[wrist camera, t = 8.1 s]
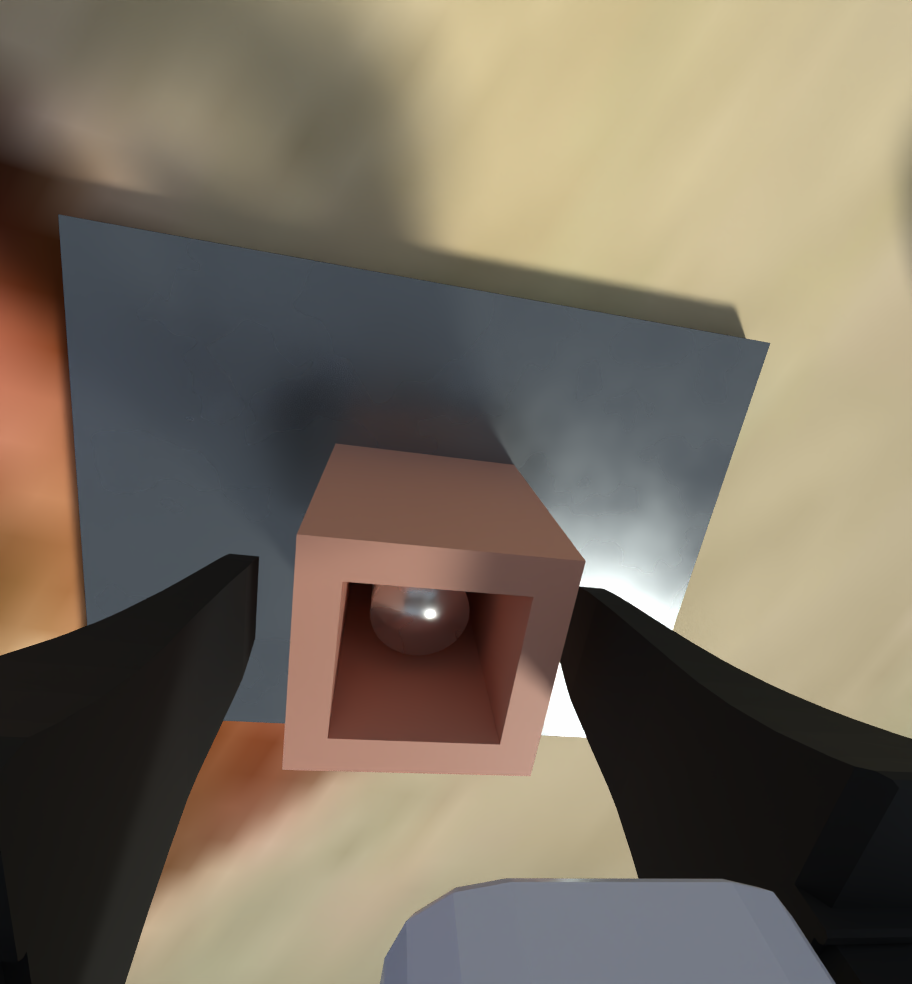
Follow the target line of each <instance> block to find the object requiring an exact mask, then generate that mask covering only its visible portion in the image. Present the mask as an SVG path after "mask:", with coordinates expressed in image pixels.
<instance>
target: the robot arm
mask: <svg viewBox="0 0 912 984" xmlns="http://www.w3.org/2000/svg"><path fill="white" fill-rule="evenodd" d="M258 571H259V556H250V555H239V554H227V555H225V556H223V557H221V558H219V559H218V560H216V561H214V562H212V563H210V564H209V565H207V566H205V567H203V568H202V569H200V570H198V571H197V572H195V573H193V574H191V575H190V576H188V577H186V578H184V579H182V580H181V581H179V582H177V583H175V584H173V585H172V586H170V587H168V588H166V589H164V590H163V591H161V592H159V593H157V594H155V595H153V596H151V597H149V598H147V599H145V600H143V601H141V602H139V603H137V604H135V605H133V606H131V607H129V608H127V609H125V610H123V611H120V612H118V613H116V614H114V615H112V616H109V617H107V618H105V619H102V620H100V621H98V622H95V623H93V624H90V625H88V626H85V627H83V628H80V629H78V630H75V631H73V632H70V633H68V634H65V635H62V636H59V637H57V638H54V639H51V640H48V641H44V642H41V643H38V644H35V645H32V646H29V647H26V648H23V649H20V650H17V651H13V652H10V653H7V654H4V655H1V656H0V984H125V982H126V979H127V976H128V973H129V969H130V966H131V963H132V960H133V957H134V954H135V951H136V948H137V945H138V942H139V939H140V935H141V932H142V929H143V926H144V923H145V920H146V917H147V914H148V911H149V908H150V905H151V902H152V899H153V896H154V893H155V890H156V887H157V884H158V881H159V879H160V876H161V873H162V870H163V867H164V864H165V861H166V858H167V855H168V852H169V849H170V846H171V844H172V841H173V838H174V835H175V832H176V830H177V827H178V824H179V821H180V818H181V816H182V813H183V810H184V807H185V804H186V801H187V799H188V796H189V794H190V791H191V789H192V787H193V784H194V782H195V780H196V777H197V775H198V773H199V771H200V769H201V766H202V764H203V762H204V760H205V758H206V756H207V754H208V752H209V749H210V747H211V745H212V743H213V741H214V739H215V737H216V735H217V733H218V730H219V728H220V726H221V724H222V722H223V720H224V718H225V716H226V714H227V711H228V709H229V707H230V705H231V703H232V701H233V699H234V696H235V694H236V692H237V690H238V688H239V686H240V683H241V681H242V679H243V676H244V673H245V670H246V667H247V664H248V661H249V657H250V654H251V651H252V647H253V644H254V641H255V634H256V613H257V592H258ZM560 665H561V668H562V672H563V676H564V680H565V684H566V687H567V691H568V694H569V697H570V700H571V703H572V705H573V707H574V710H575V712H576V714H577V717H578V719H579V722H580V724H581V726H582V729H583V731H584V733H585V735H586V738H587V740H588V742H589V744H590V747H591V749H592V751H593V753H594V756H595V758H596V760H597V763H598V765H599V767H600V769H601V772H602V774H603V776H604V778H605V781H606V783H607V785H608V788H609V790H610V793H611V795H612V798H613V800H614V803H615V806H616V808H617V811H618V814H619V817H620V820H621V823H622V826H623V830H624V833H625V836H626V839H627V842H628V845H629V848H630V851H631V854H632V858H633V861H634V864H635V868H636V871H637V875H638V878H639V879H553V878H506V879H500V880H495V881H489V882H484V883H478V884H473V885H468V886H462V887H457V888H454V889H453V890H451V891H449V892H448V893H446V894H445V895H443V896H441V897H440V898H438V899H436V900H435V901H433V902H431V903H430V904H428V905H427V906H425V907H423V908H422V909H420V910H418V911H417V912H415V913H414V914H413V915H412V916H411V917H410V918H409V919H408V920H407V921H406V922H405V924H404V926H403V928H402V929H401V931H400V933H399V934H398V936H397V938H396V940H395V941H394V943H393V945H392V946H391V948H390V950H389V952H388V953H387V955H386V957H385V959H384V965H383V970H382V976H381V981H380V984H912V739H911V738H907V737H904V736H901V735H898V734H895V733H892V732H889V731H886V730H883V729H880V728H877V727H875V726H872V725H869V724H866V723H863V722H860V721H857V720H854V719H852V718H849V717H846V716H844V715H841V714H839V713H836V712H833V711H831V710H828V709H826V708H823V707H821V706H818V705H816V704H814V703H811V702H809V701H806V700H804V699H802V698H799V697H797V696H795V695H792V694H790V693H788V692H785V691H783V690H781V689H779V688H777V687H774V686H772V685H770V684H768V683H766V682H764V681H762V680H760V679H758V678H756V677H754V676H752V675H750V674H748V673H746V672H744V671H742V670H740V669H738V668H736V667H734V666H732V665H730V664H729V663H727V662H725V661H723V660H721V659H719V658H718V657H716V656H714V655H713V654H711V653H709V652H707V651H706V650H704V649H702V648H700V647H699V646H697V645H695V644H694V643H692V642H690V641H689V640H687V639H686V638H684V637H682V636H681V635H679V634H677V633H676V632H674V631H673V630H671V629H670V628H668V627H666V626H665V625H663V624H662V623H660V622H659V621H657V620H655V619H654V618H652V617H651V616H649V615H648V614H646V613H645V612H643V611H642V610H640V609H638V608H637V607H635V606H634V605H632V604H631V603H629V602H627V601H626V600H624V599H622V598H621V597H619V596H617V595H615V594H614V593H612V592H610V591H608V590H605V589H603V588H592V587H581V586H579V589H578V593H577V597H576V601H575V605H574V609H573V613H572V617H571V620H570V624H569V628H568V632H567V636H566V640H565V644H564V648H563V652H562V655H561V659H560Z"/></svg>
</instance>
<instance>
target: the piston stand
mask: <svg viewBox="0 0 912 984" xmlns="http://www.w3.org/2000/svg"><path fill="white" fill-rule="evenodd" d="M58 218H59V232H60V246H61V260H62V274H63V288H64V303H65V317H66V331H67V345H68V359H69V373H70V387H71V402H72V416H73V430H74V444H75V458H76V472H77V486H78V501H79V515H80V529H81V543H82V557H83V571H84V585H85V600H86V614H87V626H88V625H90V624H93V623H95V622H98V621H100V620H102V619H105V618H107V617H109V616H112V615H114V614H116V613H118V612H120V611H123V610H125V609H127V608H129V607H131V606H133V605H135V604H137V603H139V602H141V601H143V600H145V599H147V598H149V597H151V596H153V595H155V594H157V593H159V592H161V591H163V590H164V589H166V588H168V587H170V586H172V585H173V584H175V583H177V582H179V581H181V580H182V579H184V578H186V577H188V576H190V575H191V574H193V573H195V572H197V571H198V570H200V569H202V568H203V567H205V566H207V565H209V564H210V563H212V562H214V561H216V560H218V559H219V558H221V557H223V556H225V555H227V554H239V555H250V556H259V571H258V592H257V613H256V634H255V641H254V644H253V647H252V651H251V654H250V657H249V661H248V664H247V667H246V670H245V673H244V676H243V679H242V681H241V683H240V686H239V688H238V690H237V692H236V694H235V696H234V699H233V701H232V703H231V705H230V707H229V709H228V711H227V714H226V716H225V718H224V720H223V721H245V722H266V723H285V717H286V701H287V685H288V668H289V652H290V636H291V619H292V603H293V586H294V570H295V554H296V537H297V532H298V530H299V528H300V525H301V523H302V521H303V518H304V516H305V514H306V511H307V509H308V507H309V504H310V502H311V500H312V497H313V495H314V493H315V490H316V488H317V486H318V483H319V481H320V479H321V476H322V474H323V472H324V469H325V467H326V465H327V462H328V460H329V458H330V455H331V453H332V451H333V448H334V446H335V444H344V445H353V446H361V447H369V448H378V449H386V450H394V451H403V452H411V453H419V454H428V455H436V456H445V457H453V458H461V459H470V460H478V461H486V462H495V463H503V464H511V465H515V467H516V468H517V469H518V471H519V472H520V473H521V475H522V476H523V477H524V479H525V480H526V481H527V483H528V484H529V486H530V487H531V488H532V490H533V491H534V492H535V494H536V495H537V496H538V498H539V499H540V500H541V502H542V503H543V504H544V506H545V507H546V508H547V510H548V511H549V512H550V514H551V515H552V516H553V518H554V519H555V520H556V522H557V523H558V525H559V526H560V527H561V529H562V530H563V531H564V533H565V534H566V535H567V537H568V538H569V539H570V541H571V542H572V543H573V545H574V546H575V547H576V549H577V550H578V551H579V553H580V554H581V555H582V557H583V558H584V559H585V561H586V562H585V566H584V570H583V574H582V578H581V582H580V585H579V586H581V587H592V588H603V589H605V590H608V591H610V592H612V593H614V594H615V595H617V596H619V597H621V598H622V599H624V600H626V601H627V602H629V603H631V604H632V605H634V606H635V607H637V608H638V609H640V610H642V611H643V612H645V613H646V614H648V615H649V616H651V617H652V618H654V619H655V620H657V621H659V622H660V623H662V624H663V625H665V626H666V627H668V628H670V629H671V630H673V627H674V624H675V621H676V618H677V615H678V612H679V609H680V606H681V603H682V600H683V597H684V594H685V592H686V589H687V586H688V583H689V580H690V577H691V574H692V571H693V568H694V565H695V562H696V559H697V556H698V553H699V551H700V548H701V545H702V542H703V539H704V536H705V533H706V530H707V527H708V524H709V521H710V518H711V515H712V512H713V509H714V507H715V504H716V501H717V498H718V495H719V492H720V489H721V486H722V483H723V480H724V477H725V474H726V471H727V468H728V466H729V463H730V460H731V457H732V454H733V451H734V448H735V445H736V442H737V439H738V436H739V433H740V430H741V427H742V424H743V422H744V419H745V416H746V413H747V410H748V407H749V404H750V401H751V398H752V395H753V392H754V389H755V386H756V383H757V380H758V378H759V375H760V372H761V369H762V366H763V363H764V360H765V357H766V354H767V351H768V348H769V345H770V343H767V342H761V341H756V340H750V339H745V338H739V337H734V336H728V335H723V334H717V333H711V332H706V331H700V330H695V329H689V328H684V327H678V326H673V325H667V324H662V323H656V322H651V321H645V320H640V319H634V318H629V317H623V316H617V315H612V314H606V313H601V312H595V311H590V310H584V309H579V308H573V307H568V306H562V305H557V304H551V303H546V302H540V301H534V300H529V299H523V298H518V297H512V296H507V295H501V294H496V293H490V292H485V291H479V290H474V289H468V288H463V287H457V286H451V285H446V284H440V283H435V282H429V281H424V280H418V279H413V278H407V277H402V276H396V275H391V274H385V273H380V272H374V271H368V270H363V269H357V268H352V267H346V266H341V265H335V264H330V263H324V262H319V261H313V260H308V259H302V258H297V257H291V256H285V255H280V254H274V253H269V252H263V251H258V250H252V249H247V248H241V247H236V246H230V245H225V244H219V243H214V242H208V241H202V240H197V239H191V238H186V237H180V236H175V235H169V234H164V233H158V232H153V231H147V230H142V229H136V228H131V227H125V226H120V225H114V224H108V223H103V222H97V221H92V220H86V219H81V218H75V217H70V216H64V215H59V214H58ZM352 583H354V582H352ZM361 584H367V583H361ZM469 612H470V611H469V602H468V598H467V594H466V591H454V590H441V589H429V588H416V587H404V586H392V585H379V584H373V585H372V597H371V610H370V618H371V624H372V627H373V629H374V632H375V633H376V635H377V637H378V638H379V639H380V640H381V641H382V642H383V643H384V644H385V645H386V646H388V647H389V648H391V649H393V650H395V651H397V652H400V653H403V654H407V655H428V654H432V653H435V652H438V651H441V650H443V649H445V648H447V647H448V646H450V645H451V644H452V643H454V642H455V641H456V640H457V639H458V638H459V637H460V635H461V634H462V633H463V631H464V629H465V628H466V625H467V623H468V619H469ZM541 735H547V736H569V737H586V735H585V733H584V731H583V729H582V726H581V724H580V722H579V719H578V717H577V714H576V712H575V710H574V707H573V705H572V703H571V700H570V697H569V694H568V691H567V687H566V684H565V680H564V676H563V672H562V668H561V665H560V663H559V667H558V671H557V675H556V679H555V683H554V687H553V690H552V694H551V698H550V702H549V706H548V710H547V714H546V718H545V722H544V725H543V729H542V733H541Z"/></svg>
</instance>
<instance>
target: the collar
mask: <svg viewBox="0 0 912 984" xmlns="http://www.w3.org/2000/svg"><path fill="white" fill-rule="evenodd" d="M585 562H586V561H585V559H584V558H583V557H582V555H581V554H580V553H579V551H578V550H577V549H576V547H575V546H574V545H573V543H572V542H571V541H570V539H569V538H568V537H567V535H566V534H565V533H564V531H563V530H562V529H561V527H560V526H559V525H558V523H557V522H556V520H555V519H554V518H553V516H552V515H551V514H550V512H549V511H548V510H547V508H546V507H545V506H544V504H543V503H542V502H541V500H540V499H539V498H538V496H537V495H536V494H535V492H534V491H533V490H532V488H531V487H530V486H529V484H528V483H527V481H526V480H525V479H524V477H523V476H522V475H521V473H520V472H519V471H518V469H517V468H516V467H515V465H511V464H503V463H495V462H486V461H478V460H470V459H461V458H453V457H445V456H436V455H428V454H419V453H411V452H403V451H394V450H386V449H378V448H369V447H361V446H353V445H344V444H335V446H334V448H333V451H332V453H331V455H330V458H329V460H328V462H327V465H326V467H325V469H324V472H323V474H322V476H321V479H320V481H319V483H318V486H317V488H316V490H315V493H314V495H313V497H312V500H311V502H310V504H309V507H308V509H307V511H306V514H305V516H304V518H303V521H302V523H301V525H300V528H299V530H298V532H297V537H296V554H295V570H294V586H293V603H292V619H291V636H290V652H289V668H288V685H287V701H286V717H285V734H284V750H283V767H282V770H316V771H354V772H392V773H431V774H469V775H508V776H531V772H532V768H533V764H534V760H535V757H536V753H537V749H538V745H539V741H540V737H541V733H542V729H543V725H544V722H545V718H546V714H547V710H548V706H549V702H550V698H551V694H552V690H553V687H554V683H555V679H556V675H557V671H558V667H559V663H560V659H561V655H562V652H563V648H564V644H565V640H566V636H567V632H568V628H569V624H570V620H571V617H572V613H573V609H574V605H575V601H576V597H577V593H578V589H579V585H580V582H581V578H582V574H583V570H584V566H585ZM352 582H354V583H352ZM361 583H367V584H361ZM373 584H379V585H392V586H404V587H416V588H429V589H441V590H454V591H466V594H467V598H468V602H469V611H470V612H469V619H468V623H467V625H466V628H465V629H464V631H463V633H462V634H461V635H460V637H459V638H458V639H457V640H456V641H455V642H454V643H452V644H451V645H450V646H448V647H447V648H445V649H443V650H441V651H438V652H435V653H432V654H428V655H407V654H403V653H400V652H397V651H395V650H393V649H391V648H389V647H388V646H386V645H385V644H384V643H383V642H382V641H381V640H380V639H379V638H378V637H377V635H376V633H375V632H374V629H373V627H372V624H371V618H370V610H371V597H372V585H373Z"/></svg>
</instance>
